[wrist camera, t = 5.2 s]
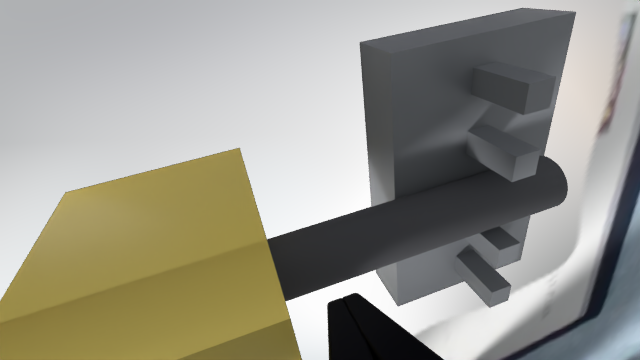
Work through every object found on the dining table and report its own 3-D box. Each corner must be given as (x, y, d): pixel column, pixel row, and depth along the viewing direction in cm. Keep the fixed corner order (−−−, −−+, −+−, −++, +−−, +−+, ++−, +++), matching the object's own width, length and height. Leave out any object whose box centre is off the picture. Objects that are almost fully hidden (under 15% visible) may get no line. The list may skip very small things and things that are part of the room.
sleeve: (274, 270, 14) (331, 465, 8) (141, 315, 13) (103, 571, 7) (239, 147, 11) (290, 318, 5) (65, 192, 10) (-94, 457, 4)
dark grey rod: (488, 86, 13) (673, 150, 8) (475, 197, 16) (609, 296, 11) (-518, 346, 8) (-1752, 979, 3) (-287, 446, 10) (-721, 869, 5)
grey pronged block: (488, 233, 17) (560, 293, 14) (376, 272, 16) (425, 349, 13) (522, 7, 12) (650, 17, 9) (359, 42, 11) (435, 68, 7)
